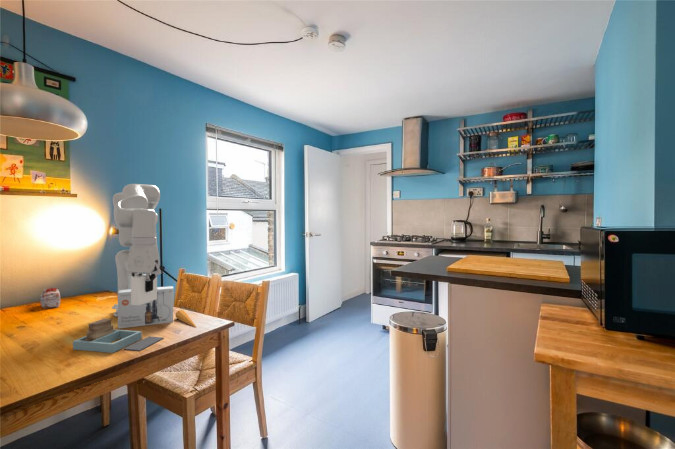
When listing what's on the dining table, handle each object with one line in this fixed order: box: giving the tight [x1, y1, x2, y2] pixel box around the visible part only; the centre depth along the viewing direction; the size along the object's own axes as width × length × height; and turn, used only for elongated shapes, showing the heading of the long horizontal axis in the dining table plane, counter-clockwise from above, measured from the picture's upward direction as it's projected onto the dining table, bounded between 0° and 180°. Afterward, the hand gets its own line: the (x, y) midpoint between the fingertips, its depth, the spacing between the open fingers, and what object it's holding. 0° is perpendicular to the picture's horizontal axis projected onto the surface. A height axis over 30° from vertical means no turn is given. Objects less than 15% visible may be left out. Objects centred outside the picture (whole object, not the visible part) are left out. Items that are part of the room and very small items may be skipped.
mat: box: [123, 336, 164, 352], centre depth 118 cm, size 6×12×1 cm, turn 171°
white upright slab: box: [131, 273, 158, 305], centre depth 118 cm, size 3×9×10 cm, turn 170°
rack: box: [72, 328, 143, 354], centre depth 118 cm, size 16×13×3 cm
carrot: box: [175, 309, 197, 328], centre depth 143 cm, size 20×4×4 cm, turn 47°
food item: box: [39, 287, 61, 310], centre depth 168 cm, size 14×8×10 cm, turn 45°
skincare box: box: [117, 285, 174, 330], centre depth 141 cm, size 21×5×16 cm, turn 117°
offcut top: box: [88, 318, 112, 331], centre depth 119 cm, size 4×6×2 cm, turn 168°
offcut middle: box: [86, 324, 115, 340], centre depth 119 cm, size 4×8×3 cm, turn 173°
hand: (144, 290), depth 118 cm, fingers closed on white upright slab, 3 cm apart
